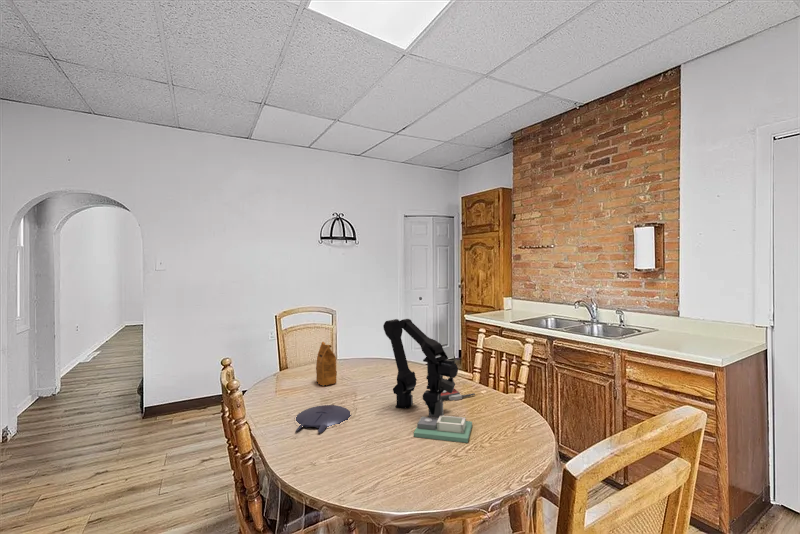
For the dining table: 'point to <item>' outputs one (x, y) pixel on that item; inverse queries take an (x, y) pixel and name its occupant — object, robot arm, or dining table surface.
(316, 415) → the toy spaceship
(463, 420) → the board
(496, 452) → the dining table surface
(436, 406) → the plug
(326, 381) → the coffee package
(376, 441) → the dining table surface
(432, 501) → the dining table surface
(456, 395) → the walkie-talkie
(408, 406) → the robot arm
